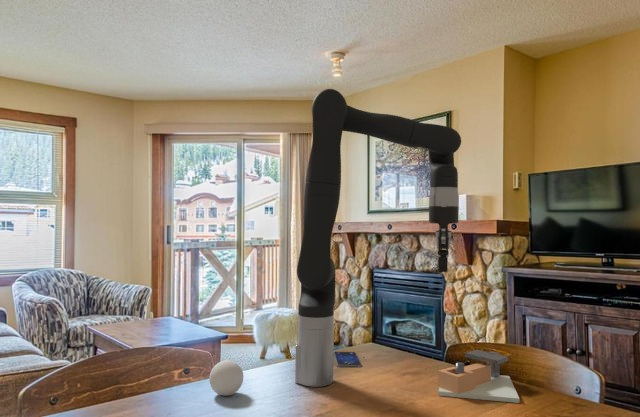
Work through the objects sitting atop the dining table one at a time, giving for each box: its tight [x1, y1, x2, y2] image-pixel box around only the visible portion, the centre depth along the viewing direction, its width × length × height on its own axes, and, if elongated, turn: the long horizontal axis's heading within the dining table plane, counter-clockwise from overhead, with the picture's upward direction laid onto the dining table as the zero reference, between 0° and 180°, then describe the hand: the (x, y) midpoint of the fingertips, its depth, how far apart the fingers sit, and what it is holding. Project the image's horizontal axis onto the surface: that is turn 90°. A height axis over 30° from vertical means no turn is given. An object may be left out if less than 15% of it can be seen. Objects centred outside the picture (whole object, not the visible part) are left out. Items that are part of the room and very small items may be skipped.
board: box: [438, 375, 520, 404], centre depth 120 cm, size 18×17×1 cm
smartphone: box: [333, 351, 362, 368], centre depth 144 cm, size 7×1×15 cm
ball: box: [208, 359, 244, 397], centre depth 113 cm, size 8×8×8 cm
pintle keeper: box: [455, 349, 509, 378], centre depth 121 cm, size 13×16×7 cm
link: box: [437, 361, 491, 394], centre depth 119 cm, size 15×6×4 cm, turn 126°
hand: (443, 271), depth 124 cm, fingers closed
